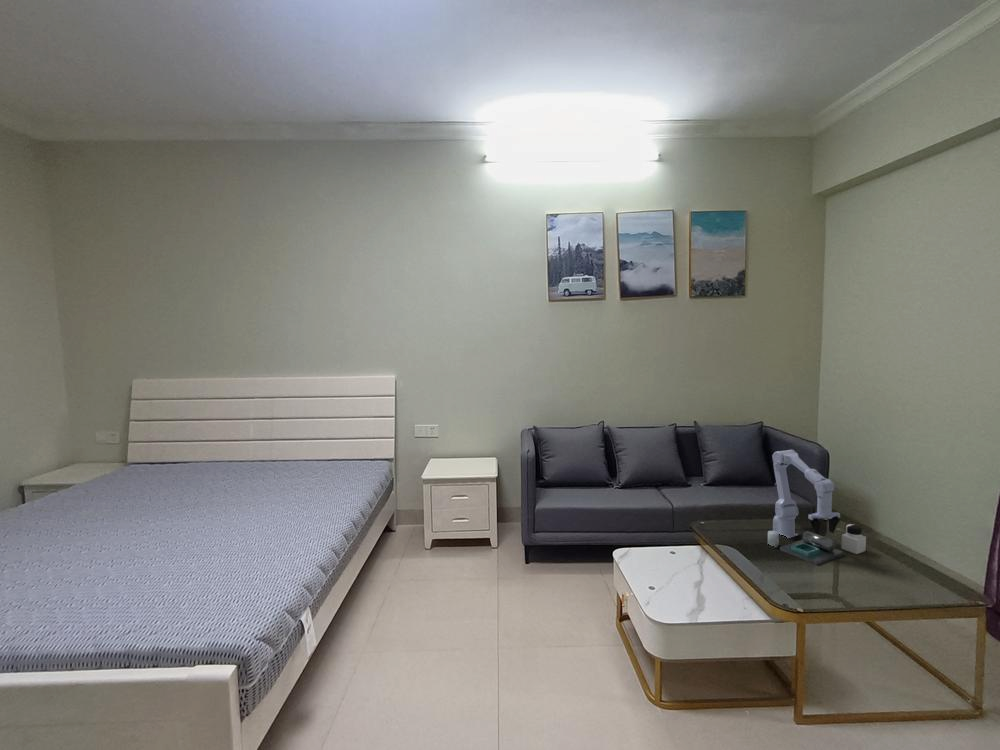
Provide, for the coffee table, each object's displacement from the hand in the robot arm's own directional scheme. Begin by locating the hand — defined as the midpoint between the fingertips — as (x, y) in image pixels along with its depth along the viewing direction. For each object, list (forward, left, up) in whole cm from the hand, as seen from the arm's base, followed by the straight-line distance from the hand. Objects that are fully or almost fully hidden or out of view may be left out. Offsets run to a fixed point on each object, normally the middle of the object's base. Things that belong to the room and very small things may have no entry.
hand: (823, 532), depth 236 cm
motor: (-3, -5, -10) cm, 11 cm away
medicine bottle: (+5, +14, -10) cm, 18 cm away
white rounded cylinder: (-17, -13, -10) cm, 23 cm away
